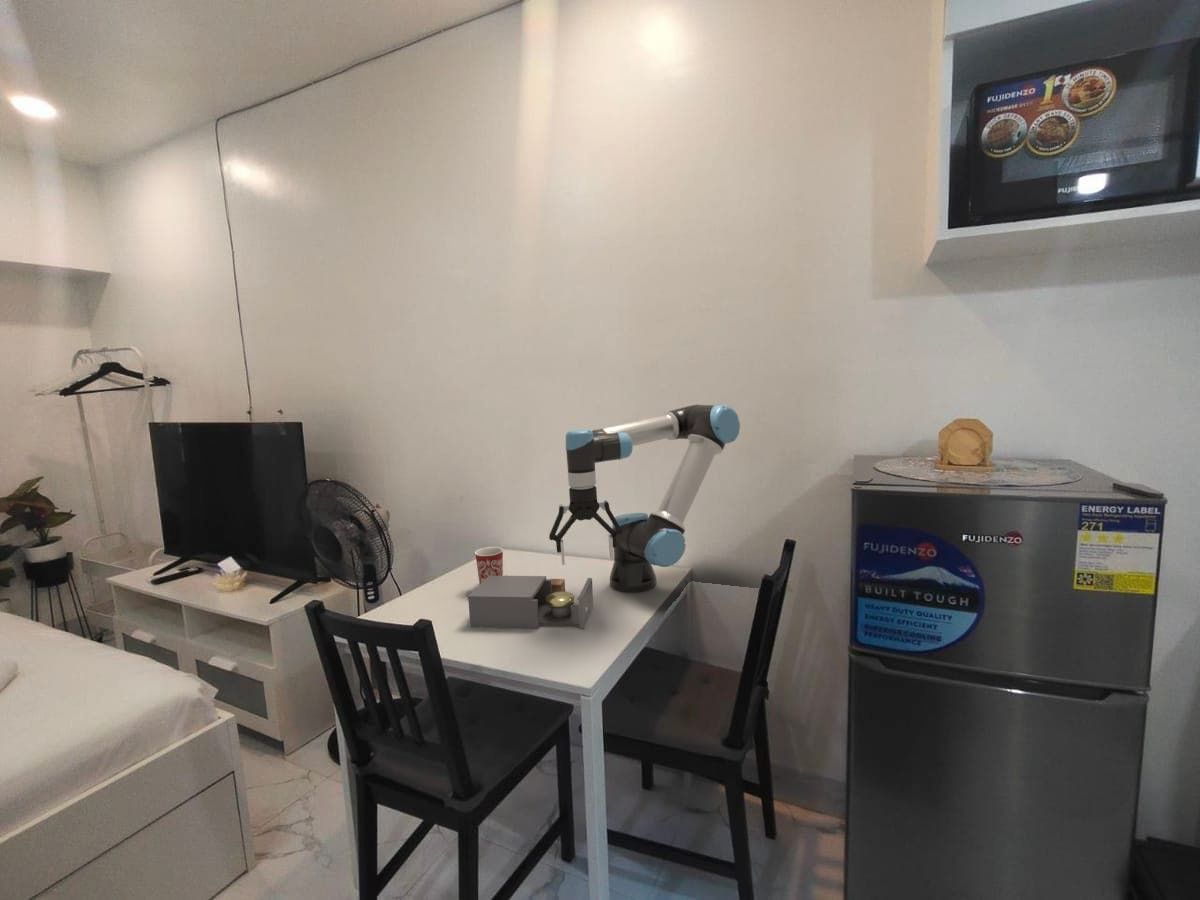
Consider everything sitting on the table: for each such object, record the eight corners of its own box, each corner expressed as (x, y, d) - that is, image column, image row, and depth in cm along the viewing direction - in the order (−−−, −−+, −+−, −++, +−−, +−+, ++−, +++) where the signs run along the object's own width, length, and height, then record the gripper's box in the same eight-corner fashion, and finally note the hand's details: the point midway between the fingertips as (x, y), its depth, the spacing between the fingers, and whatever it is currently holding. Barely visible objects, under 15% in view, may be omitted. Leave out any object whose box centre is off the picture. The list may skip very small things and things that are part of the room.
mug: (505, 594, 170) (502, 553, 169) (476, 597, 169) (473, 556, 168) (507, 580, 183) (504, 542, 181) (480, 583, 182) (477, 544, 180)
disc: (549, 596, 156) (549, 591, 156) (576, 596, 155) (576, 591, 155) (543, 608, 148) (542, 603, 148) (571, 608, 147) (571, 603, 147)
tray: (595, 605, 158) (594, 578, 157) (586, 628, 143) (584, 598, 142) (529, 604, 161) (527, 577, 160) (513, 626, 146) (511, 597, 145)
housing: (552, 604, 160) (551, 576, 159) (538, 629, 145) (536, 597, 144) (491, 603, 164) (488, 575, 163) (470, 627, 148) (468, 596, 147)
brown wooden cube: (565, 594, 168) (564, 578, 168) (561, 600, 164) (561, 584, 163) (550, 593, 169) (549, 578, 169) (546, 600, 164) (545, 584, 164)
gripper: (625, 480, 151) (629, 552, 154) (537, 487, 149) (542, 560, 151) (629, 485, 144) (633, 561, 146) (536, 492, 141) (542, 569, 144)
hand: (587, 561), depth 149 cm, fingers open, 13 cm apart
